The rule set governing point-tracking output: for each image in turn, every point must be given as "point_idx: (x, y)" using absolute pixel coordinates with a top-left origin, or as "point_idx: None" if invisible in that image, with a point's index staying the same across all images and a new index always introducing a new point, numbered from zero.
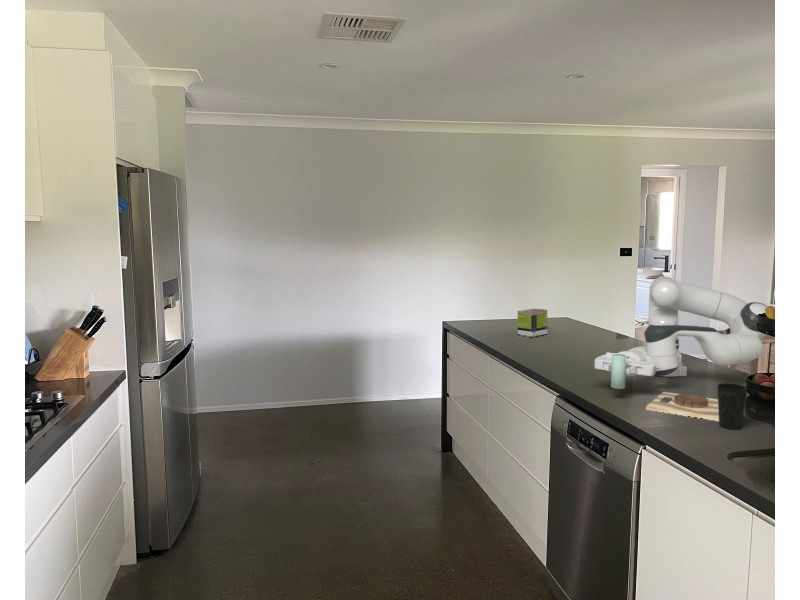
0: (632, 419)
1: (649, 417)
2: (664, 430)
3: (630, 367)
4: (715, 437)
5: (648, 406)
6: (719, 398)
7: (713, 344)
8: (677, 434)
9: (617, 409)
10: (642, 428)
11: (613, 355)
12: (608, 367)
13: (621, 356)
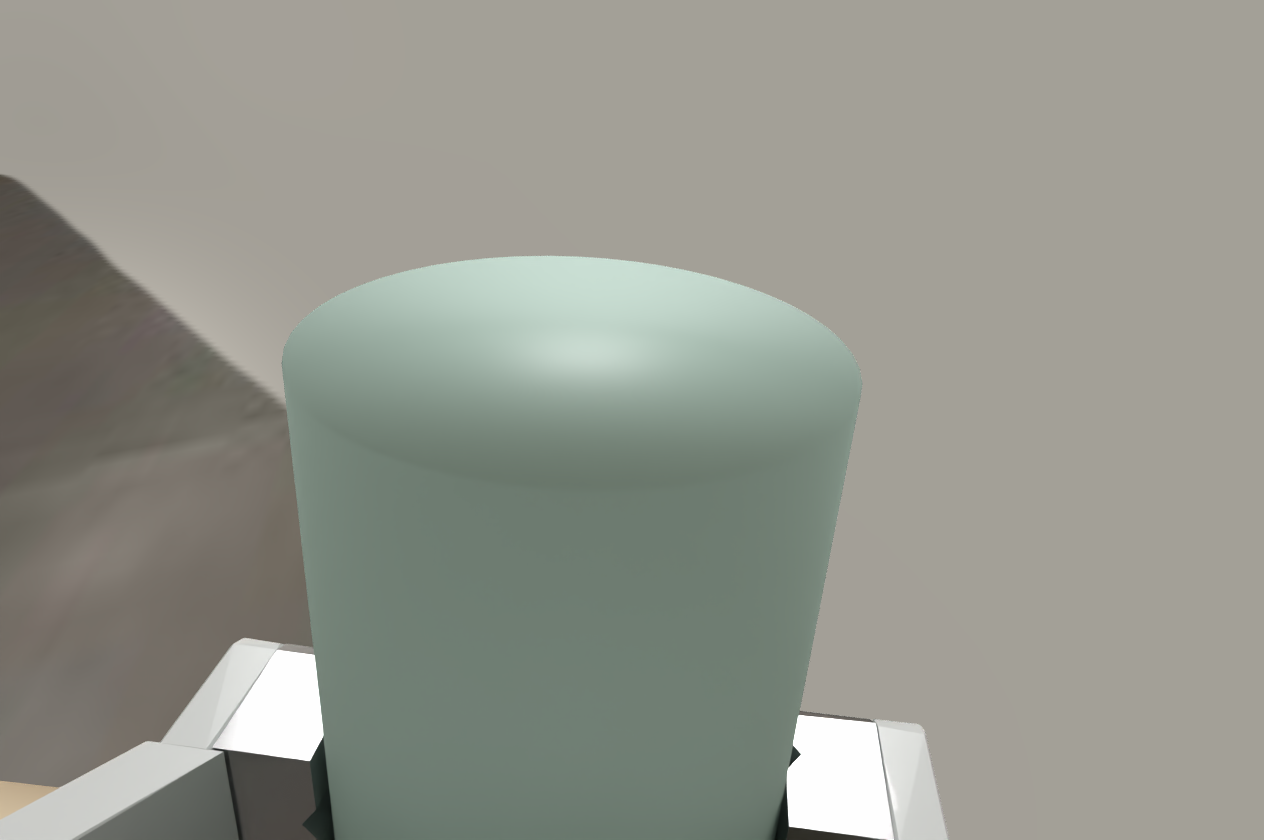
0: None
1: (143, 599)
2: (116, 416)
3: (135, 798)
4: None
5: (46, 790)
6: None
7: None
8: (47, 390)
9: None
10: (275, 409)
11: (752, 308)
12: (858, 723)
13: (461, 273)
